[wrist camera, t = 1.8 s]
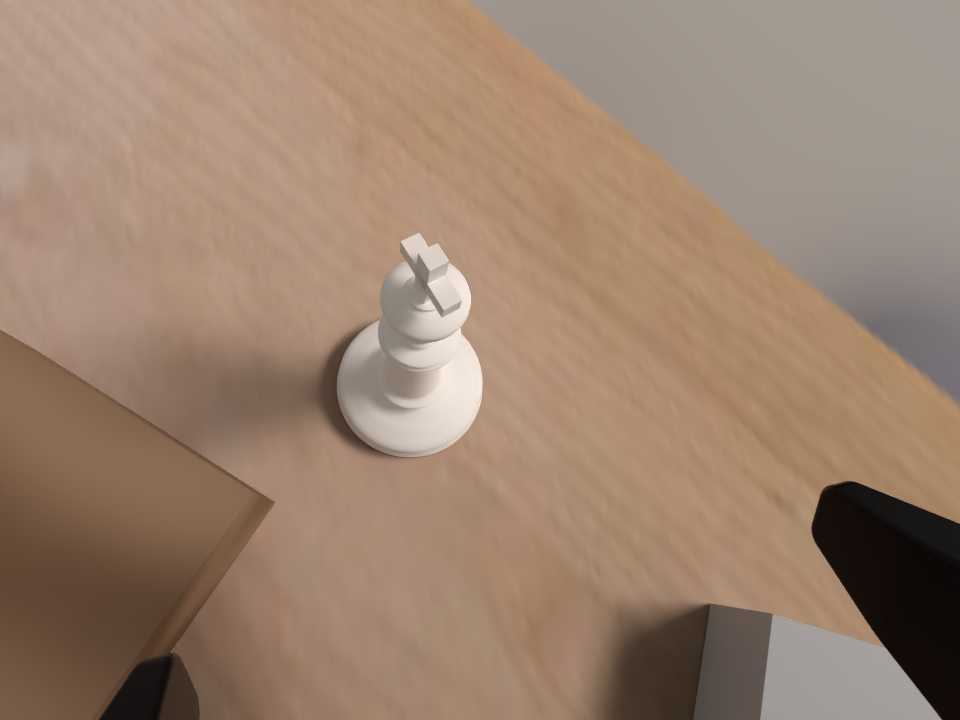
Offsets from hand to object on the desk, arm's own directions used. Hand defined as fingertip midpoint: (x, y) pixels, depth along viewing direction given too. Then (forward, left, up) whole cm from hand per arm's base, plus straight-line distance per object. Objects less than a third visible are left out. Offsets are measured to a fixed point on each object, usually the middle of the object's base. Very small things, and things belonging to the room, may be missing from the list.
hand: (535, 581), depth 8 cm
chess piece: (+4, +4, -12) cm, 14 cm away
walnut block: (-6, +10, -12) cm, 17 cm away
